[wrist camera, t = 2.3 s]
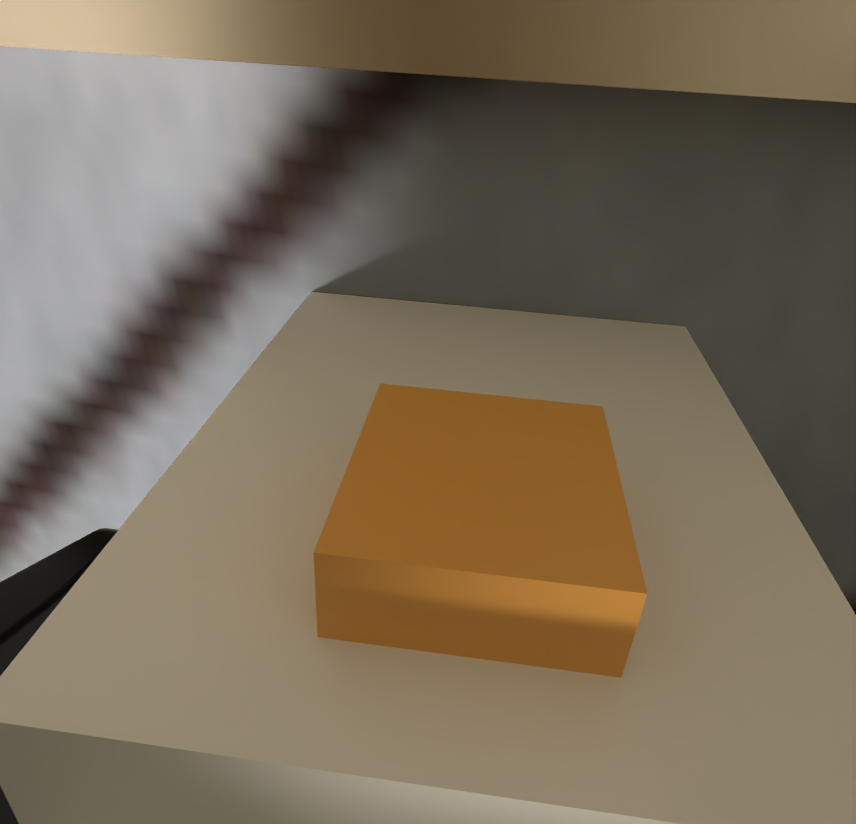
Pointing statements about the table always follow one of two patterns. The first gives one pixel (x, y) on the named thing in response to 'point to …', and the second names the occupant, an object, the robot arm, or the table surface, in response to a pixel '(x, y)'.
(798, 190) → the table surface
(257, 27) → the rail board
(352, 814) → the block
